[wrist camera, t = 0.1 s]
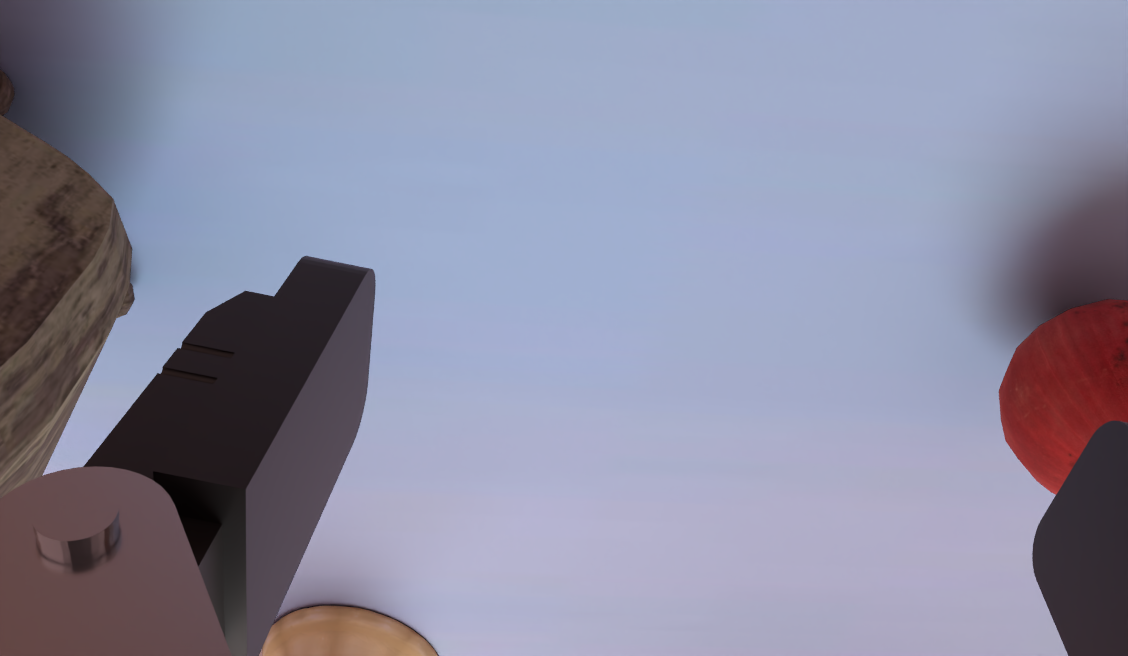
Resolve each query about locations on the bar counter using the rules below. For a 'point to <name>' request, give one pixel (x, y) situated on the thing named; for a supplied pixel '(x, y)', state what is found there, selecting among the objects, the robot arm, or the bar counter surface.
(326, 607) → the hand bell
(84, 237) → the tabletop clock
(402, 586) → the bar counter surface
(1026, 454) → the onion
